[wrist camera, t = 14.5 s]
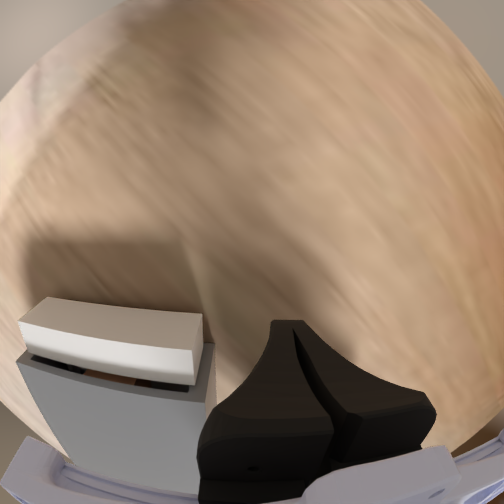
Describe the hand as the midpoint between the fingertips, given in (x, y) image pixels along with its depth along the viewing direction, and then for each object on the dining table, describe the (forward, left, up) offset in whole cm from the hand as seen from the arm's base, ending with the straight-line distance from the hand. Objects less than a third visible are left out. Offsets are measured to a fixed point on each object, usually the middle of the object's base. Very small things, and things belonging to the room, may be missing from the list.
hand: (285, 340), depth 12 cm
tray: (+12, +10, -9) cm, 18 cm away
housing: (+12, +15, -9) cm, 21 cm away
